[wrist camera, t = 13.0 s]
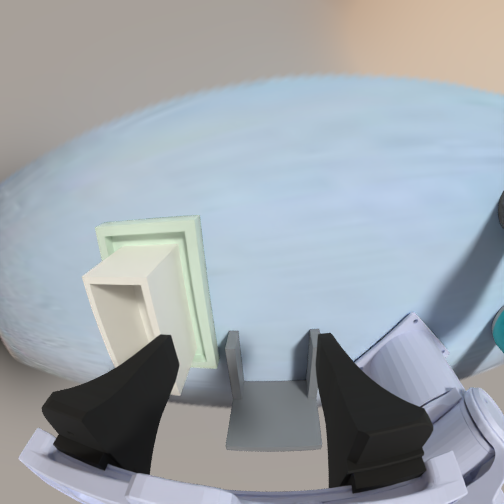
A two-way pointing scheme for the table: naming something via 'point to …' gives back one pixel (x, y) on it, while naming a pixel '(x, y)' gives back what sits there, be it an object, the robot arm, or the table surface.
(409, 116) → the table surface
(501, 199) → the beverage cup
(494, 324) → the beverage can
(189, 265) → the tray
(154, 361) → the robot arm
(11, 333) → the table surface
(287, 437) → the bay
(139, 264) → the box
